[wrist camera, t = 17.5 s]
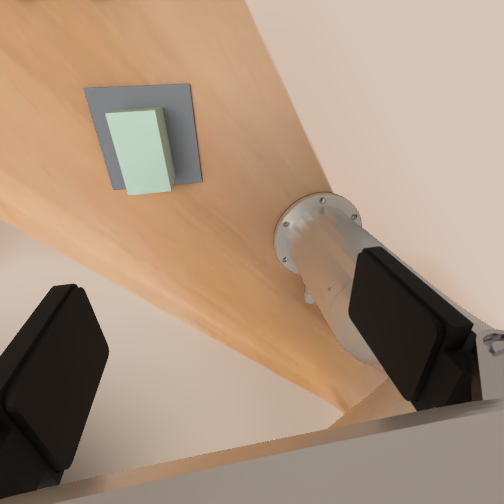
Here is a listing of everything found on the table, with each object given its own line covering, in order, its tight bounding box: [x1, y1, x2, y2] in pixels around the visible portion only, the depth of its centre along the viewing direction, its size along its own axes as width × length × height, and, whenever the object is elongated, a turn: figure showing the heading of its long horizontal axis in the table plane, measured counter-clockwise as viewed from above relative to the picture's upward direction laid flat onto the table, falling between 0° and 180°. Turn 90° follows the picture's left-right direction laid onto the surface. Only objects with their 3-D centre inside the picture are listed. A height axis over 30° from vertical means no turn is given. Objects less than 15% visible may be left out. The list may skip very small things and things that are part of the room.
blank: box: [105, 107, 175, 195], centre depth 28 cm, size 7×4×6 cm, turn 3°
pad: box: [84, 84, 202, 190], centre depth 30 cm, size 10×10×1 cm
